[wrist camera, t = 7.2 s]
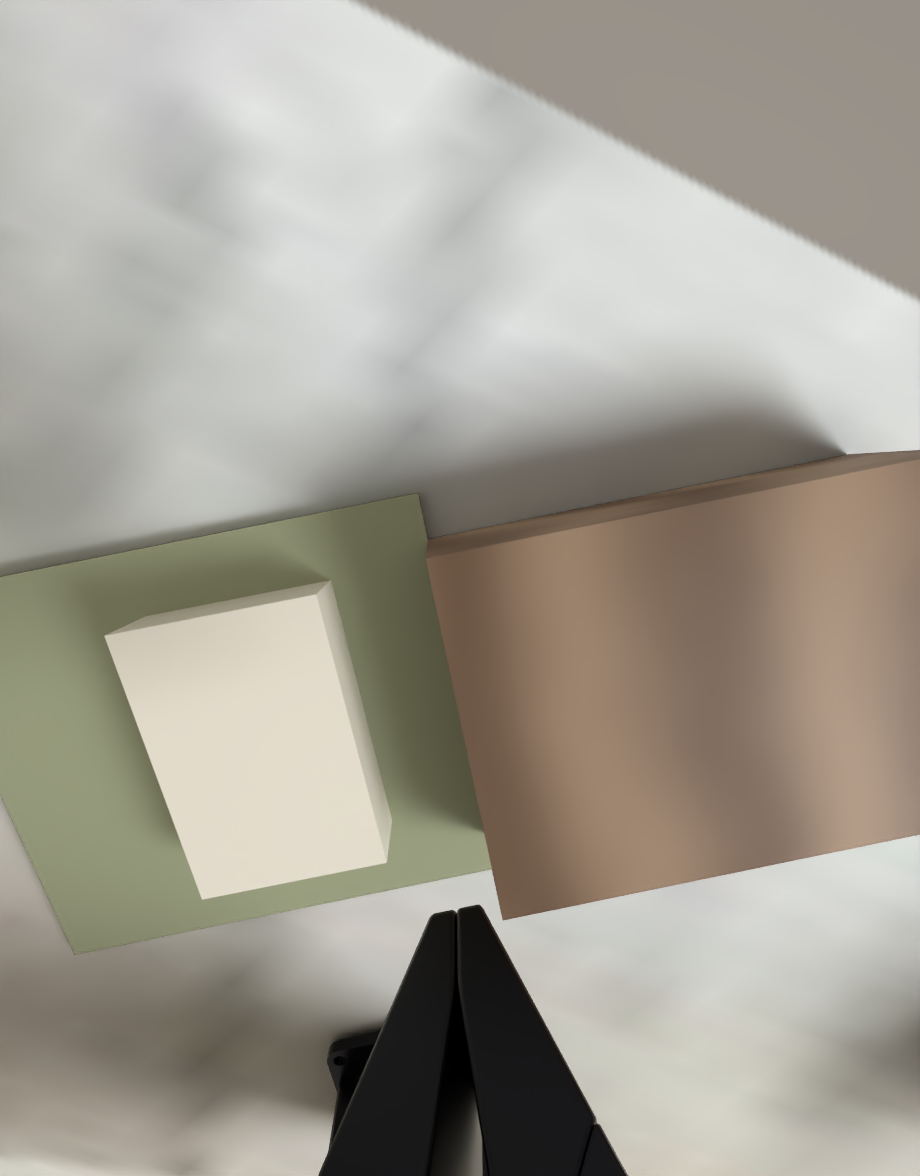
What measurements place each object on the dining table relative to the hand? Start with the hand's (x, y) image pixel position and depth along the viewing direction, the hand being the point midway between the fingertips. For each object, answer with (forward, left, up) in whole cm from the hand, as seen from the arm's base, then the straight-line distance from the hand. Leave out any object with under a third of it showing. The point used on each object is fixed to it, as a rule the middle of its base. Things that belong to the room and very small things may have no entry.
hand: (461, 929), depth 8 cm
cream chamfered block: (-6, 0, -7) cm, 9 cm away
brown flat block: (+7, 0, -9) cm, 12 cm away
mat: (-8, 0, -9) cm, 12 cm away
